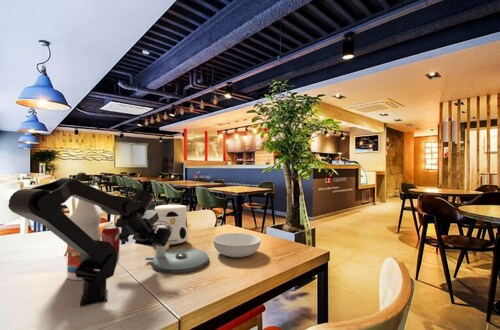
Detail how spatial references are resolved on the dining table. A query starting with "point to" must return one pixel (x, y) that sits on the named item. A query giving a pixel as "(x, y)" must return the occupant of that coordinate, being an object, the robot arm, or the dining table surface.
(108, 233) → the soda can
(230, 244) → the serving bowl
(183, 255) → the pivot base
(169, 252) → the grey round stand
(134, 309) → the dining table surface
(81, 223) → the fruit juice
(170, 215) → the milk container
